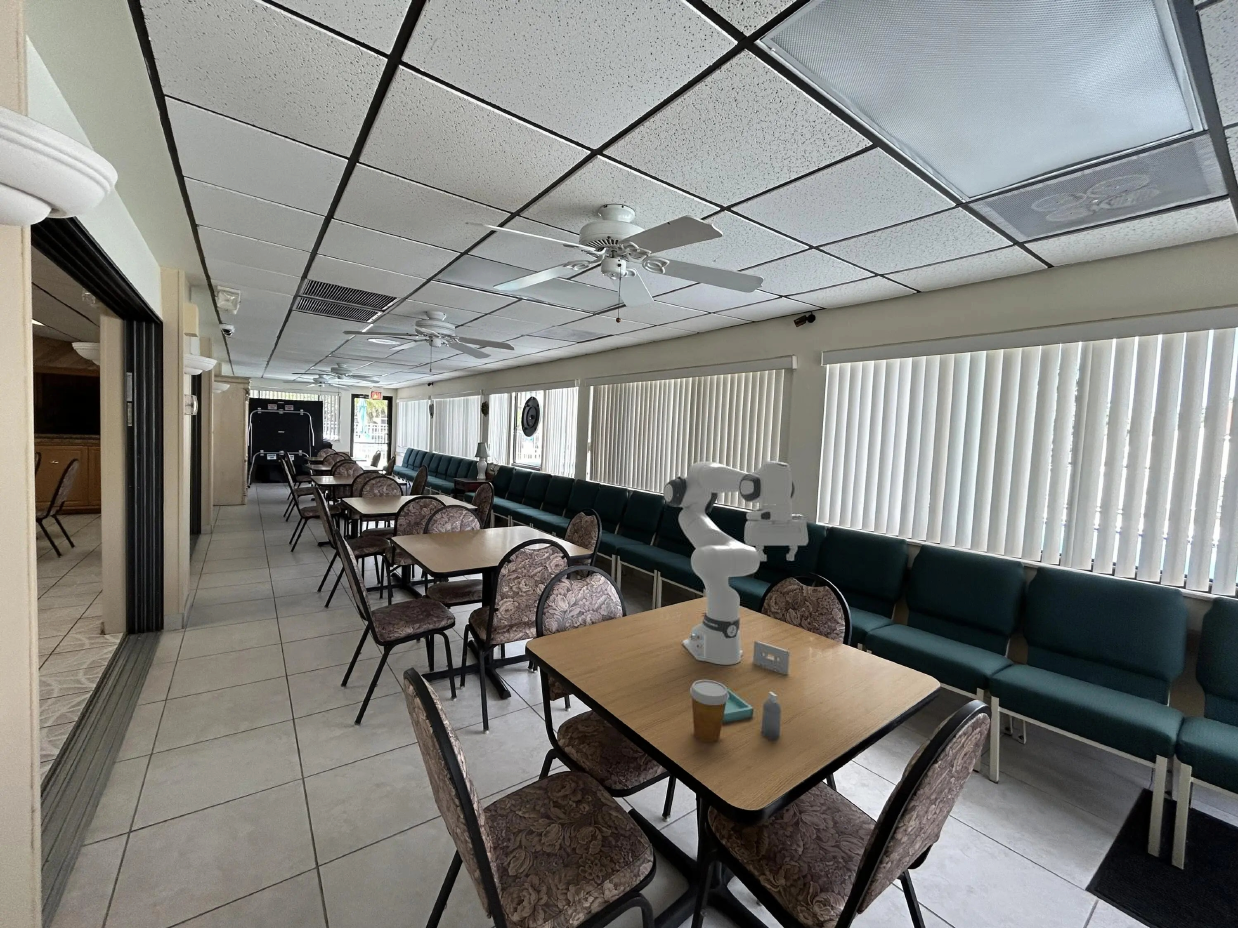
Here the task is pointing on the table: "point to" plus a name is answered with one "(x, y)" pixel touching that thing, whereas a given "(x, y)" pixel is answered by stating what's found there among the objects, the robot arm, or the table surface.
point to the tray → (736, 709)
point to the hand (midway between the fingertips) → (776, 560)
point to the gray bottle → (771, 717)
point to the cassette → (768, 662)
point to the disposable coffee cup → (708, 709)
